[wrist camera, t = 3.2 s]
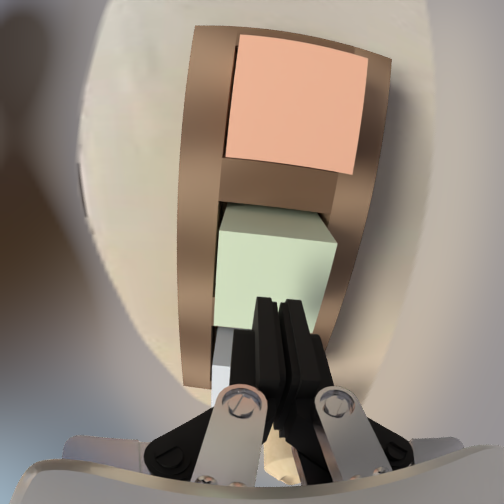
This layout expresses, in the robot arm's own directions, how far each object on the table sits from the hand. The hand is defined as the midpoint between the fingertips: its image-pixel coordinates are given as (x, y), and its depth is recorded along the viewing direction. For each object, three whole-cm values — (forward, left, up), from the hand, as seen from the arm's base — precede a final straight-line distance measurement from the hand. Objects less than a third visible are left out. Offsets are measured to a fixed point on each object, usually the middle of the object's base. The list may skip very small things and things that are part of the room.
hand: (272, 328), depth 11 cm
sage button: (0, 0, -7) cm, 7 cm away
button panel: (0, 0, -9) cm, 9 cm away
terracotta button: (-8, 0, -7) cm, 11 cm away
